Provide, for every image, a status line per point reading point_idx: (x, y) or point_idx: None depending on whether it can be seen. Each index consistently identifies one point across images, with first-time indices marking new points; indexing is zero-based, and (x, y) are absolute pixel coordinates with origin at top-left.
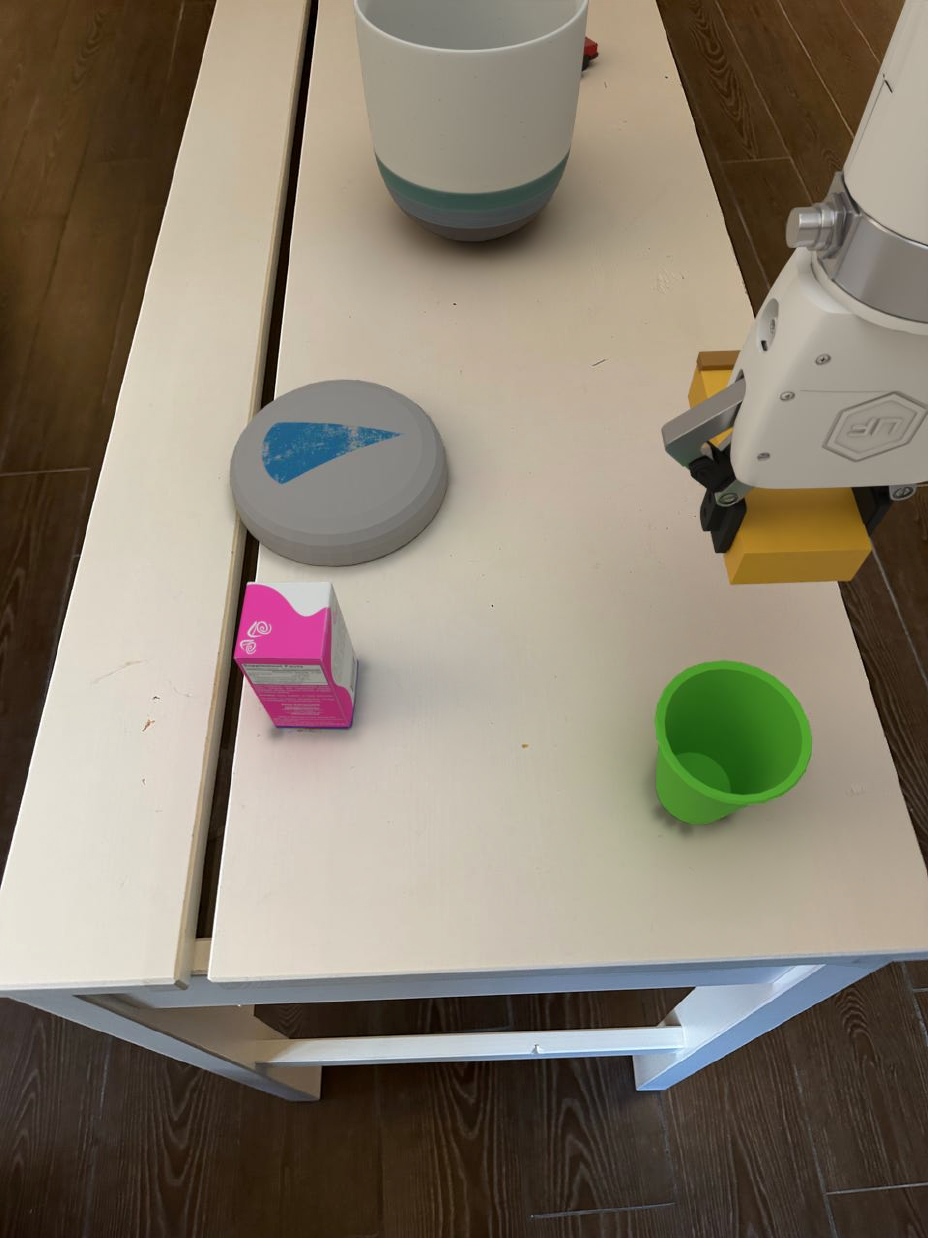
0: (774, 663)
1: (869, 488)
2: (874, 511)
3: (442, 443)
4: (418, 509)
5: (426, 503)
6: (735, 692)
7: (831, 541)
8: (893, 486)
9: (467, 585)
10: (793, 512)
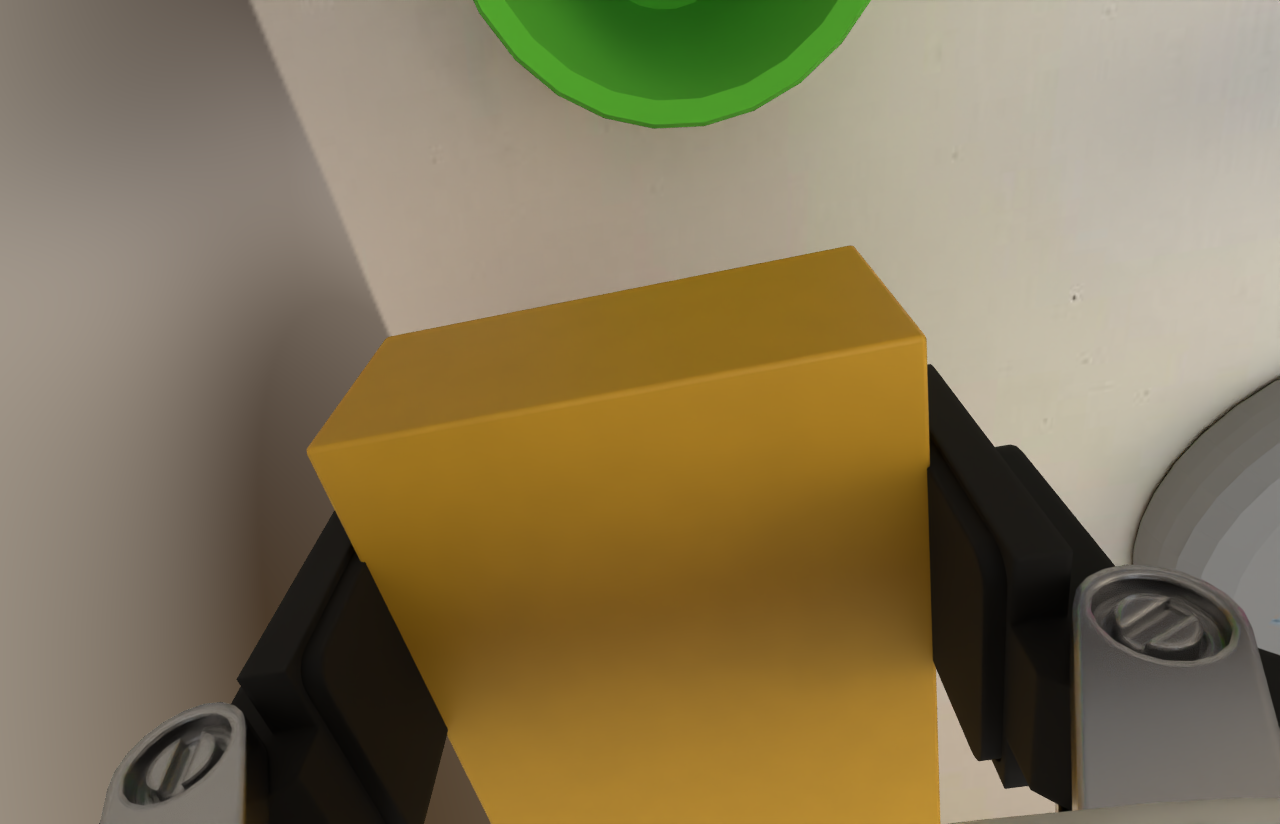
0: (511, 261)
1: (356, 736)
2: (319, 629)
3: None
4: (1244, 473)
5: (1220, 488)
6: (640, 70)
7: (496, 459)
8: (220, 800)
9: (1120, 334)
10: (669, 574)
